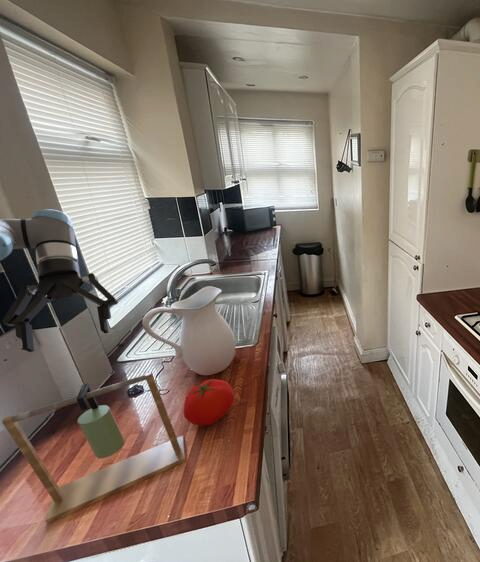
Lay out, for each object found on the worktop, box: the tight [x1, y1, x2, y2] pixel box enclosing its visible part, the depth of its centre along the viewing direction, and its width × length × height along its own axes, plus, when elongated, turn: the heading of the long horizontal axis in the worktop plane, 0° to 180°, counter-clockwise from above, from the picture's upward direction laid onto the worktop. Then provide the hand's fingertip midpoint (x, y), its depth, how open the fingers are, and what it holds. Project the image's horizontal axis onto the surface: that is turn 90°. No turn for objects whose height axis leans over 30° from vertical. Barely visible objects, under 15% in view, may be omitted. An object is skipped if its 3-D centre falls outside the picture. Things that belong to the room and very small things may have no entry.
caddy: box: [76, 383, 126, 459], centre depth 66 cm, size 5×5×16 cm
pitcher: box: [142, 285, 236, 376], centre depth 103 cm, size 24×17×28 cm
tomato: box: [183, 378, 235, 427], centre depth 86 cm, size 13×12×11 cm
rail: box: [1, 371, 187, 525], centre depth 68 cm, size 25×8×25 cm, turn 123°
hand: (68, 340), depth 73 cm, fingers open, 13 cm apart
